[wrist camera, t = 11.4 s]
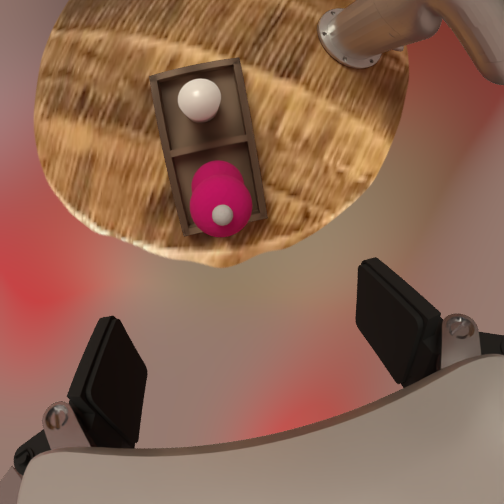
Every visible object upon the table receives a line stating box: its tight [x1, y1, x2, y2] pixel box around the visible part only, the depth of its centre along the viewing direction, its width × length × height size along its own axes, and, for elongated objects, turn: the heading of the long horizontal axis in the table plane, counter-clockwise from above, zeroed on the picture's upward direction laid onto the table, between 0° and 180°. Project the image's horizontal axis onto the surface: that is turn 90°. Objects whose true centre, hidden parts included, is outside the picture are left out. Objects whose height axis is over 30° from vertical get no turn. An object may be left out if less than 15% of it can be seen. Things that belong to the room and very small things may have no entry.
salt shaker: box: [178, 79, 221, 123], centre depth 31 cm, size 5×5×9 cm
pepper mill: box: [190, 160, 252, 237], centre depth 31 cm, size 7×7×20 cm
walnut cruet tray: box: [149, 58, 268, 236], centre depth 37 cm, size 13×25×3 cm, turn 10°
